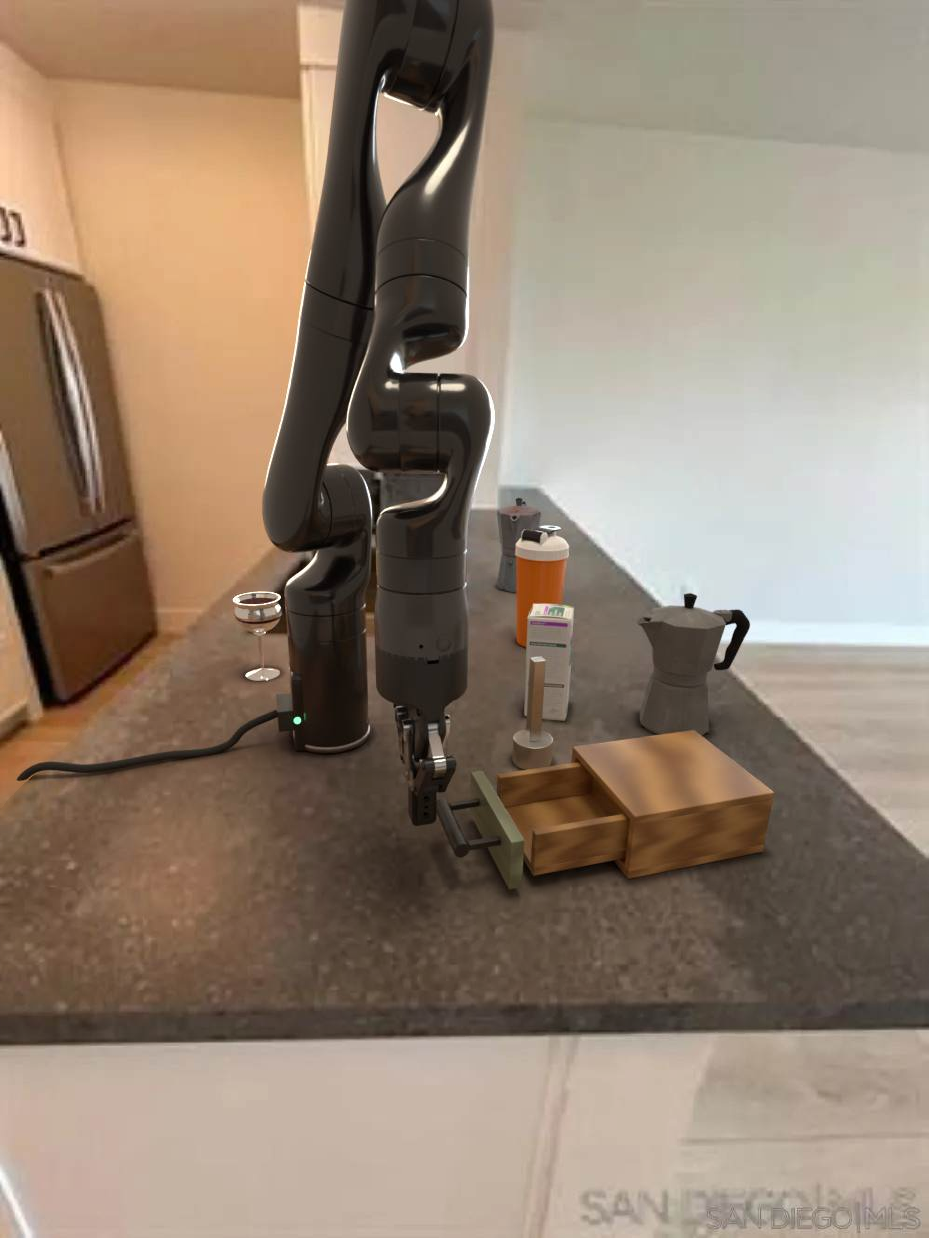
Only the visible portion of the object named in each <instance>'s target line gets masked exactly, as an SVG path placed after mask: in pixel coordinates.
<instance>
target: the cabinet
mask: <svg viewBox="0 0 929 1238" xmlns="http://www.w3.org/2000/svg"><path fill="white" fill-rule="evenodd" d="M577 762H581V764H582V765H583V766H584V767H585V768H586V769H587V770H588V772H589V773H590V774H591V775H592V776H593V777H594V778H595V780H596V781H597V782H598V783H599V784H600V785H601V786H602V788H603V789H604V790H605V791H606V792H607V793H608V794H609V796H610V797H611V798H612V799H613V800H614V801H615V802H616V804H617V805H618V806H619V807H620V808H621V809H622V810H623V812H624V813H625V814H626V815H627V816H628V817H629V818H630V824H629V833H628V841H627V850H626V858H623V859H618V860H613V862H614V863H615V865H616V866H617V867H618V868H619V869H620V871H621V872H622V874H623V875H624V876H625V877H626V879H628V880H630V879H634V878H635V879H636V878H639V877H645V876H650V875H654V874H659V873H664V872H665V873H666V872H669V871H673V870H674V871H675V870H678V869H679V870H680V869H684V868H689V867H694V866H699V865H703V864H708V863H709V864H710V863H713V862H718V861H723V860H728V859H729V860H730V859H734V858H738V857H743V856H747V855H752V854H753V855H754V854H759V853H762V852H764V848H765V842H766V837H767V833H768V827H769V822H770V817H771V812H772V806H773V801H774V797H775V792H774V791H773V790H772V789H770V788H769V787H768V786H767V785H765V783H763V782H762V781H761V780H759V779H758V778H756V777H755V776H754V775H753V774H751V773H750V772H748V771H747V770H746V769H745V768H744V767H742V766H741V765H740V764H739V763H737V762H736V761H735V760H734V759H732V758H731V757H729V756H728V755H727V754H725V753H724V752H723V751H722V750H721V749H719V748H718V747H717V746H715V745H714V744H712V743H711V742H710V741H709V740H708V739H706V738H705V737H704V736H701V735H700V734H698V733H697V732H696V731H694V730H690V731H683V732H676V733H669V734H661V735H658V734H655V735H648V736H641V737H634V738H626V739H619V740H611V741H605V742H603V741H602V742H598V743H597V742H596V743H590V744H583V745H574V746H572V752H571V763H577Z"/></svg>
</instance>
